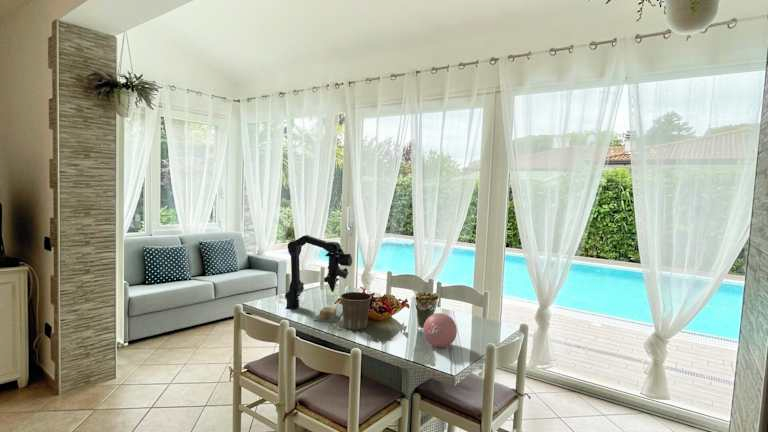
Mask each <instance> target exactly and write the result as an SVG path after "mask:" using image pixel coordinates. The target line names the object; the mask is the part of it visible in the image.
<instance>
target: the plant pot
mask: <svg viewBox="0 0 768 432" xmlns="http://www.w3.org/2000/svg"><path fill="white" fill-rule="evenodd" d="M340 298H341V305H342V312H343V313H342V318H343V319H342V322H343V324H342V325H343V327H344V328H345V329H346V330H352V331H358V330H365V329H366V328H367V327H368V317H369V311H370V306H371V302H372V301H371V300H372V298H373V297H372V295H371V294H369V293H366V292H359V291H358V292H357V291H353V292H352V291H349V292H345V293H342V294H340Z"/></svg>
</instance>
